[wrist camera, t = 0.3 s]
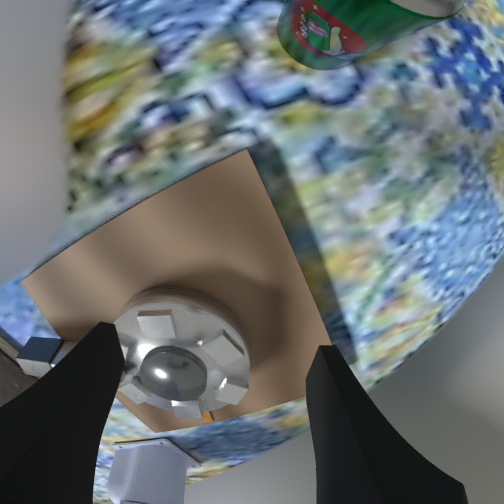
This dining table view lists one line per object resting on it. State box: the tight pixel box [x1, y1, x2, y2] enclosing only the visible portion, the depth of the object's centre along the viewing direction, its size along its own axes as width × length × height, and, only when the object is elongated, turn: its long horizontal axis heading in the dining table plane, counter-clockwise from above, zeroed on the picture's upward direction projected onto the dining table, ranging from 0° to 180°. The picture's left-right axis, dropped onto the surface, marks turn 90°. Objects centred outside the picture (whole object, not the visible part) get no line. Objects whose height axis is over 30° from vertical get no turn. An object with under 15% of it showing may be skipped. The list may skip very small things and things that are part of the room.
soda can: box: [277, 0, 465, 70], centre depth 9 cm, size 5×5×12 cm
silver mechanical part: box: [16, 287, 250, 418], centre depth 19 cm, size 19×10×4 cm, turn 95°
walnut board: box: [21, 148, 332, 433], centre depth 21 cm, size 20×20×2 cm
